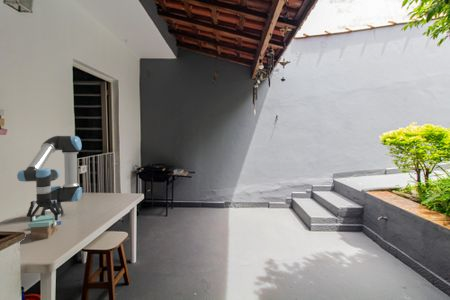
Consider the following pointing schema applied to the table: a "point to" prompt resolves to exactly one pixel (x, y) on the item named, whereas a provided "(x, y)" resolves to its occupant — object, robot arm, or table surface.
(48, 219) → the lid
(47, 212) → the ink box
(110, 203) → the table surface
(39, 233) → the crate
